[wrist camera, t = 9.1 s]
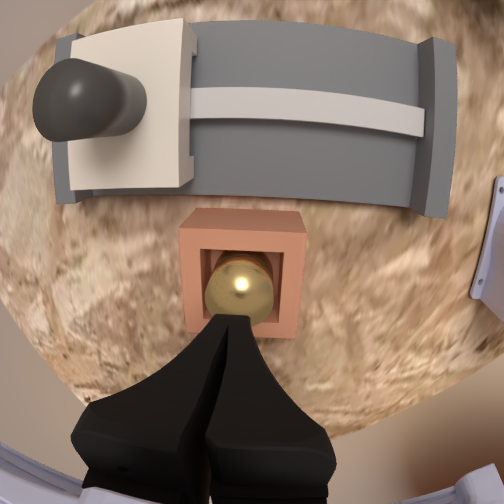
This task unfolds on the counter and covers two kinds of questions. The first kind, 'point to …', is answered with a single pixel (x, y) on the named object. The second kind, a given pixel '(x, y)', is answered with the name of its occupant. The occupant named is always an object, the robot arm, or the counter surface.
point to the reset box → (244, 239)
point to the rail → (311, 117)
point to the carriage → (123, 106)
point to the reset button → (241, 285)
